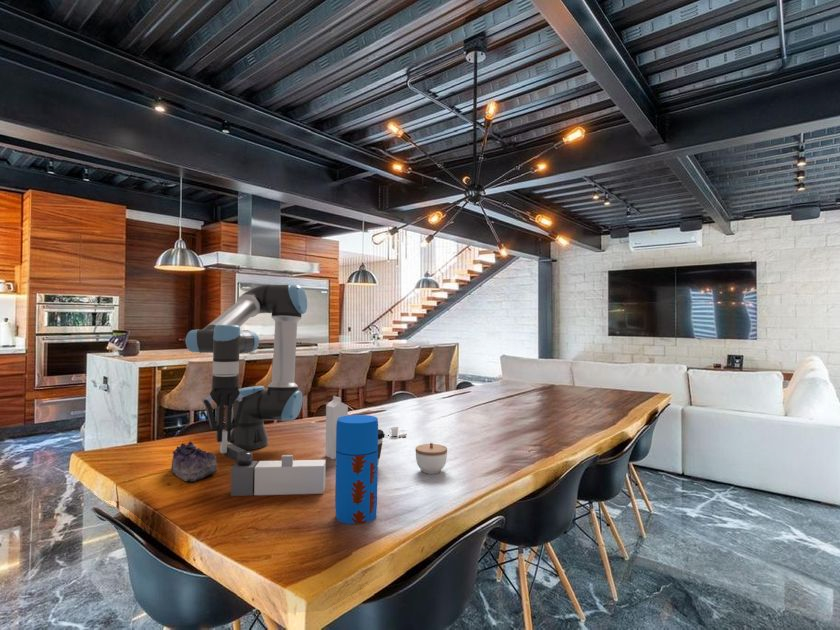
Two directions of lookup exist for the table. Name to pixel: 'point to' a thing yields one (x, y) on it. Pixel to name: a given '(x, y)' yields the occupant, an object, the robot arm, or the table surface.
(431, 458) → the lidded jar
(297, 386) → the robot arm
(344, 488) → the thermos
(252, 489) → the white box with knob
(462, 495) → the table surface
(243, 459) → the bar
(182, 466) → the geode
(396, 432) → the teacup and saucer
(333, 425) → the milk
